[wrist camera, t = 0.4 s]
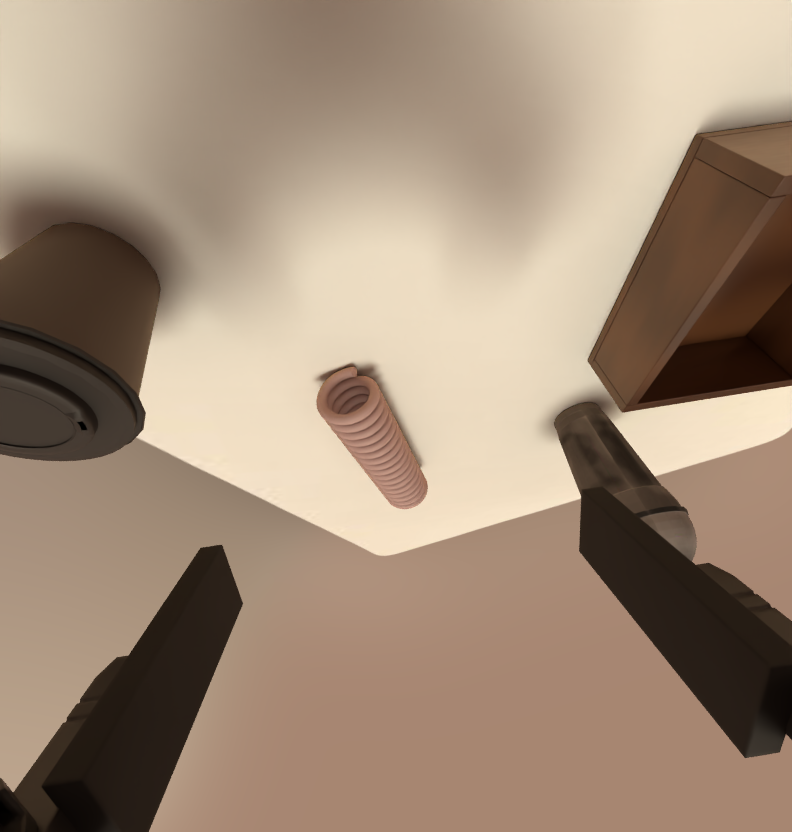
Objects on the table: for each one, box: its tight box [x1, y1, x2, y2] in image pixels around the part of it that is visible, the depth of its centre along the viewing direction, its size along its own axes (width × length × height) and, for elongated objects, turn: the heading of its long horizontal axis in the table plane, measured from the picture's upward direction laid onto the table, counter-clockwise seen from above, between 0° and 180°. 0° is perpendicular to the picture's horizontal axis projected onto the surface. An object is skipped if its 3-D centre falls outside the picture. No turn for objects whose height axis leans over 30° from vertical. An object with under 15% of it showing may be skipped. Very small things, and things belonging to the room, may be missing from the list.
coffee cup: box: [0, 223, 160, 461], centre depth 16 cm, size 8×8×10 cm
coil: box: [317, 367, 428, 509], centre depth 33 cm, size 5×5×18 cm
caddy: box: [588, 122, 792, 412], centre depth 23 cm, size 16×14×6 cm
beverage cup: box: [554, 403, 696, 561], centre depth 31 cm, size 7×7×20 cm
